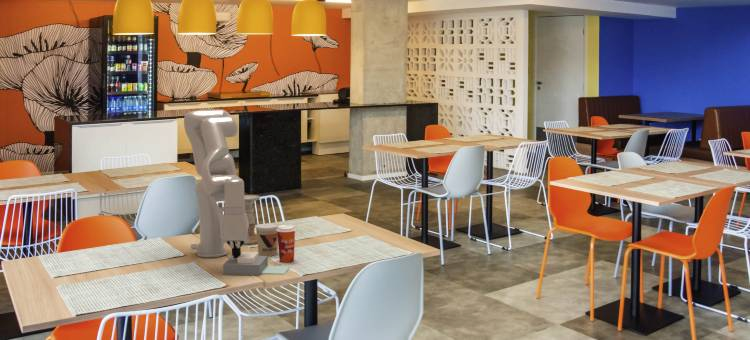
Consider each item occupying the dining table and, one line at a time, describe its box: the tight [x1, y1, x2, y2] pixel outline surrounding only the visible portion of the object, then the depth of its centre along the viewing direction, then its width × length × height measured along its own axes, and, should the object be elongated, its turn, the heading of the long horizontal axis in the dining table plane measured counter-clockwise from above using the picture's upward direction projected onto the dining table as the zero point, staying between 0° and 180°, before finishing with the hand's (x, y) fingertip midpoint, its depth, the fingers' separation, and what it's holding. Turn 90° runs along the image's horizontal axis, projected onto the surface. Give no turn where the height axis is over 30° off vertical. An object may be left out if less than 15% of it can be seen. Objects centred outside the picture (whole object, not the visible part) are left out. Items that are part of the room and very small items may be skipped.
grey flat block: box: [222, 255, 269, 276], centre depth 295 cm, size 14×13×4 cm
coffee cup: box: [255, 223, 279, 257], centre depth 319 cm, size 9×9×12 cm
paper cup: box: [276, 224, 297, 264], centre depth 308 cm, size 8×8×14 cm
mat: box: [261, 265, 291, 275], centre depth 295 cm, size 9×10×1 cm
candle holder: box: [235, 194, 261, 246], centre depth 339 cm, size 12×12×20 cm
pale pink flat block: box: [237, 251, 260, 263], centre depth 295 cm, size 6×9×2 cm, turn 175°
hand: (236, 257), depth 295 cm, fingers closed
